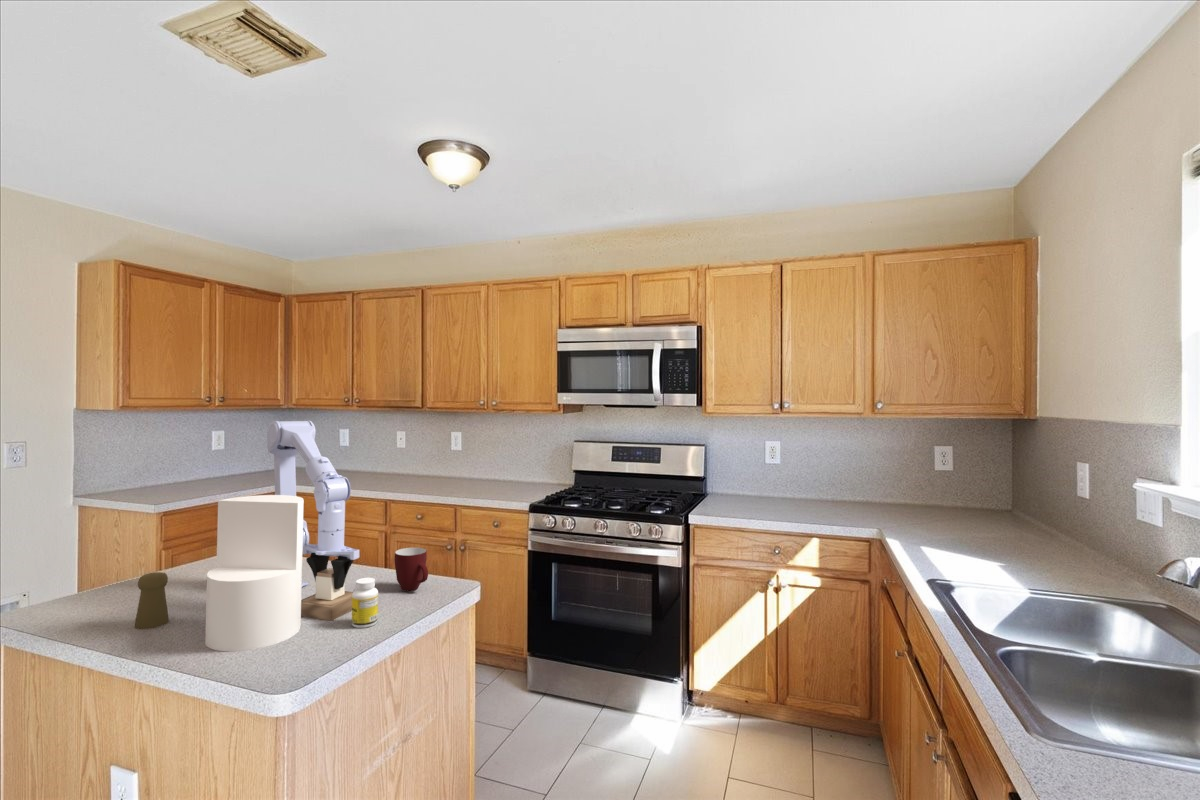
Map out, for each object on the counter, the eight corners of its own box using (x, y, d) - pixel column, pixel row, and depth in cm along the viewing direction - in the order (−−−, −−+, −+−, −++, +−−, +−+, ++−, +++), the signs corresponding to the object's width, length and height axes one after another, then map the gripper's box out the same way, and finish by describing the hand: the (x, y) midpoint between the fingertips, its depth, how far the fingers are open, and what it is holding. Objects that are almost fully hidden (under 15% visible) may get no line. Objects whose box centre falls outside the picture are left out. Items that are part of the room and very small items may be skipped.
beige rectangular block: (315, 598, 133) (315, 572, 133) (329, 592, 137) (329, 567, 137) (331, 600, 131) (331, 574, 131) (344, 594, 136) (344, 569, 136)
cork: (130, 631, 120) (131, 579, 120) (138, 621, 125) (139, 571, 125) (166, 626, 123) (167, 575, 123) (171, 616, 128) (173, 568, 128)
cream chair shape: (241, 616, 129) (244, 493, 129) (316, 619, 129) (319, 496, 129) (183, 649, 112) (187, 508, 112) (269, 653, 111) (273, 511, 111)
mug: (439, 588, 151) (440, 551, 151) (417, 597, 144) (418, 558, 144) (409, 582, 155) (410, 546, 155) (386, 590, 148) (387, 552, 148)
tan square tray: (295, 615, 131) (295, 601, 131) (327, 600, 140) (327, 588, 140) (331, 620, 128) (331, 606, 128) (361, 605, 137) (361, 592, 137)
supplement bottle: (351, 621, 128) (352, 577, 128) (377, 617, 130) (378, 575, 130) (351, 630, 123) (352, 585, 123) (378, 626, 125) (379, 582, 125)
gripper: (293, 530, 132) (291, 588, 132) (345, 535, 128) (343, 595, 128) (315, 524, 139) (314, 579, 139) (366, 529, 135) (364, 586, 135)
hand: (329, 586), depth 134 cm, fingers open, 5 cm apart
